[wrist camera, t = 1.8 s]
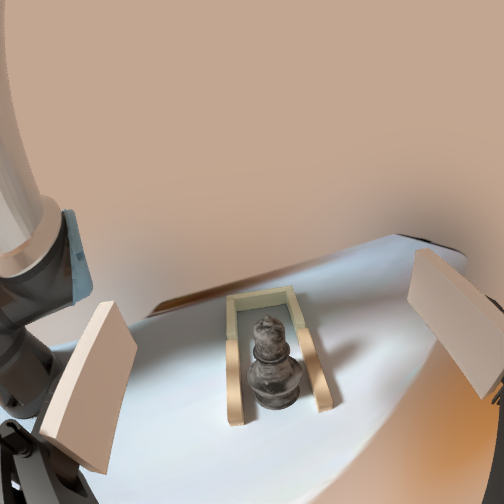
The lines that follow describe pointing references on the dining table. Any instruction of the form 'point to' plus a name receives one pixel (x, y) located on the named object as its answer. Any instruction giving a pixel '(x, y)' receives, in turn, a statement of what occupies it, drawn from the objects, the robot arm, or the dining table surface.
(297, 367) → the dark stone chess piece
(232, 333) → the socket
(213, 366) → the dining table surface
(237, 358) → the channel
